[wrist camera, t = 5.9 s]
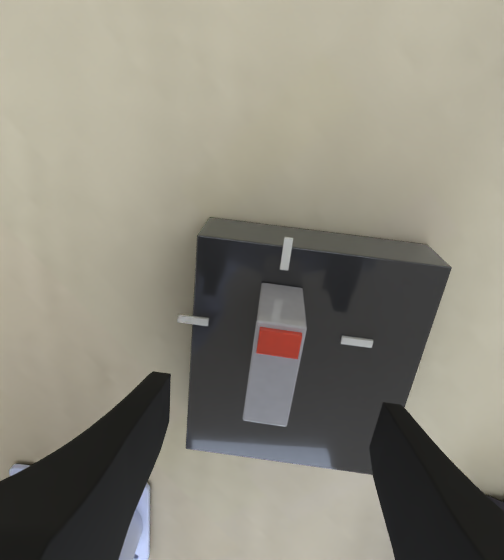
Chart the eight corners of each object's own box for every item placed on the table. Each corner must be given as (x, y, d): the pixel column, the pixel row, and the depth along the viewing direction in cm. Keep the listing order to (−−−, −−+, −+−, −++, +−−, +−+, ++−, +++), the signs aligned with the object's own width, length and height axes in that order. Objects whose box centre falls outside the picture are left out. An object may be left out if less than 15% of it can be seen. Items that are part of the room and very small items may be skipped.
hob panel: (186, 408, 24) (172, 449, 21) (196, 206, 19) (180, 224, 16) (370, 433, 24) (382, 478, 21) (430, 236, 19) (456, 259, 16)
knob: (286, 374, 19) (287, 432, 15) (249, 369, 19) (241, 425, 15) (303, 287, 17) (307, 331, 14) (261, 281, 17) (256, 324, 14)
